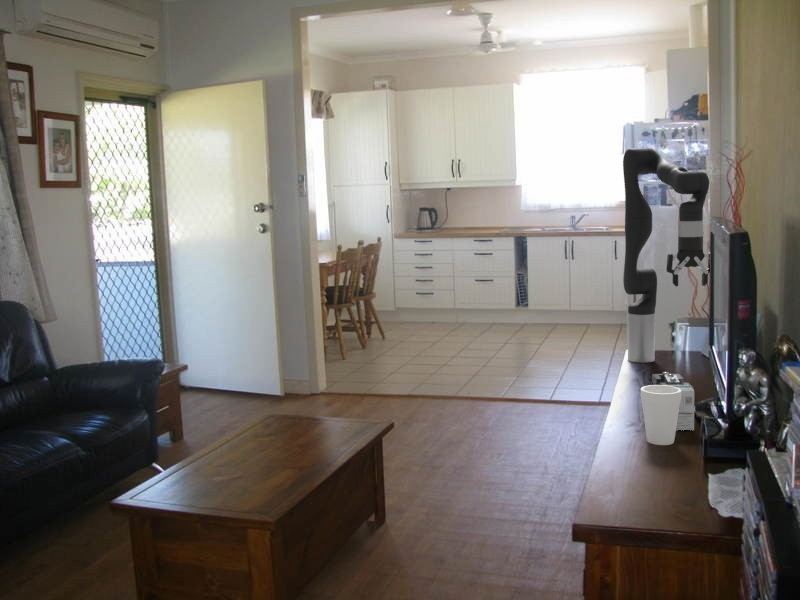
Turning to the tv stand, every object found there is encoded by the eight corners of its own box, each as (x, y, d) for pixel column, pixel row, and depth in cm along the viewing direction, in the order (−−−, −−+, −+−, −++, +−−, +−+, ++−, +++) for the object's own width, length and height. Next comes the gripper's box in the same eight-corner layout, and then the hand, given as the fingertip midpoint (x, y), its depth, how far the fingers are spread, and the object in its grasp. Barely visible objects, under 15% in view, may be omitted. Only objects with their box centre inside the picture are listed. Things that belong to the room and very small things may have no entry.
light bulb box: (688, 423, 216) (689, 383, 215) (695, 431, 209) (695, 389, 208) (646, 424, 217) (647, 384, 216) (652, 431, 210) (652, 390, 209)
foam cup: (675, 449, 195) (675, 395, 194) (636, 444, 200) (636, 391, 199) (684, 438, 203) (684, 387, 202) (646, 433, 208) (646, 383, 207)
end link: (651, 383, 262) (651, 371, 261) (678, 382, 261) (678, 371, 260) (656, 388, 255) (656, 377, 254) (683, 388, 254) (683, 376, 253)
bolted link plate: (664, 387, 257) (664, 372, 256) (675, 387, 256) (675, 373, 256) (667, 394, 247) (668, 380, 247) (679, 395, 247) (679, 380, 246)
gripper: (710, 233, 264) (709, 284, 267) (665, 235, 266) (664, 284, 268) (717, 235, 257) (716, 286, 259) (670, 236, 259) (669, 287, 261)
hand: (689, 285), depth 264 cm, fingers open, 8 cm apart
